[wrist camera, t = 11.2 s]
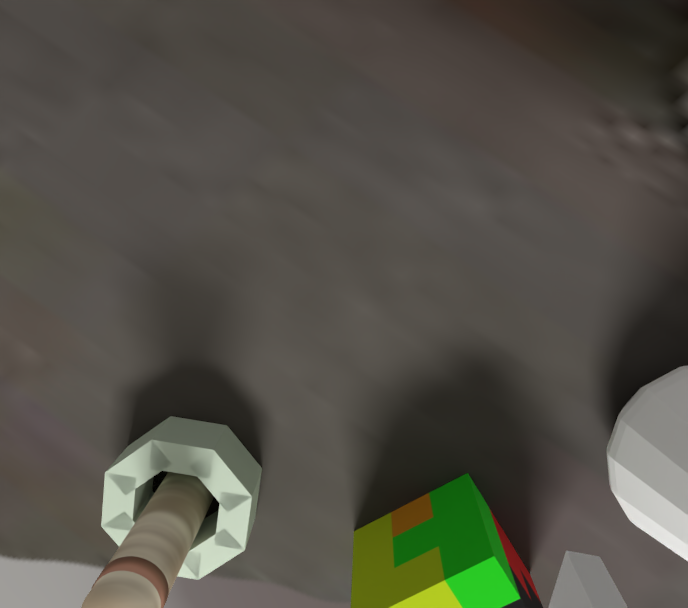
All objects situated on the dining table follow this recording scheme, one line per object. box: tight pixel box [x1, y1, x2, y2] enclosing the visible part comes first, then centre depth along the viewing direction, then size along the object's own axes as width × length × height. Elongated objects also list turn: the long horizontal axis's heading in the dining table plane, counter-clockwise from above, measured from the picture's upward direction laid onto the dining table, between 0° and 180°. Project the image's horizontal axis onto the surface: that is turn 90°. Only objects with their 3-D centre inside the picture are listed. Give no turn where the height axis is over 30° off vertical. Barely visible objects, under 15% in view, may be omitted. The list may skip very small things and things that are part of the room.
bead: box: [101, 416, 262, 580], centre depth 44 cm, size 10×10×4 cm
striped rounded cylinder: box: [82, 472, 214, 608], centre depth 40 cm, size 4×4×14 cm
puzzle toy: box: [351, 473, 543, 608], centre depth 42 cm, size 10×10×10 cm
